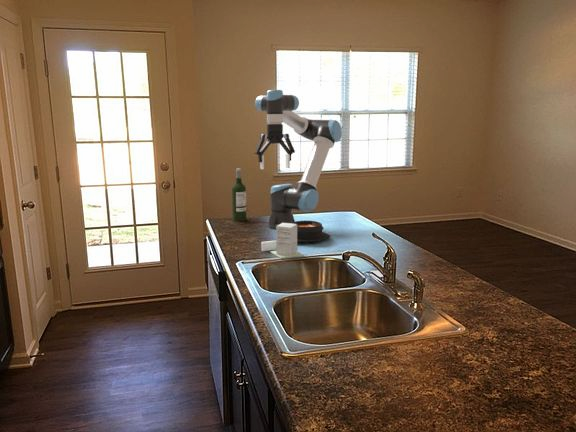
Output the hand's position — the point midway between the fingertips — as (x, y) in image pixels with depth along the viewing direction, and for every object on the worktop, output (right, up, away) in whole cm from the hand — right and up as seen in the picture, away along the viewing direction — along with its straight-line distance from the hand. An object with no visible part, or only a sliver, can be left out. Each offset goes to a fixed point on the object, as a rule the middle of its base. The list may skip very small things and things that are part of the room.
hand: (275, 168), depth 232 cm
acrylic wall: (+2, -38, -12) cm, 40 cm away
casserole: (+15, -35, +4) cm, 38 cm away
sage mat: (+6, -40, -19) cm, 45 cm away
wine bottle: (-22, -25, +48) cm, 59 cm away
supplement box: (+6, -39, -19) cm, 44 cm away
